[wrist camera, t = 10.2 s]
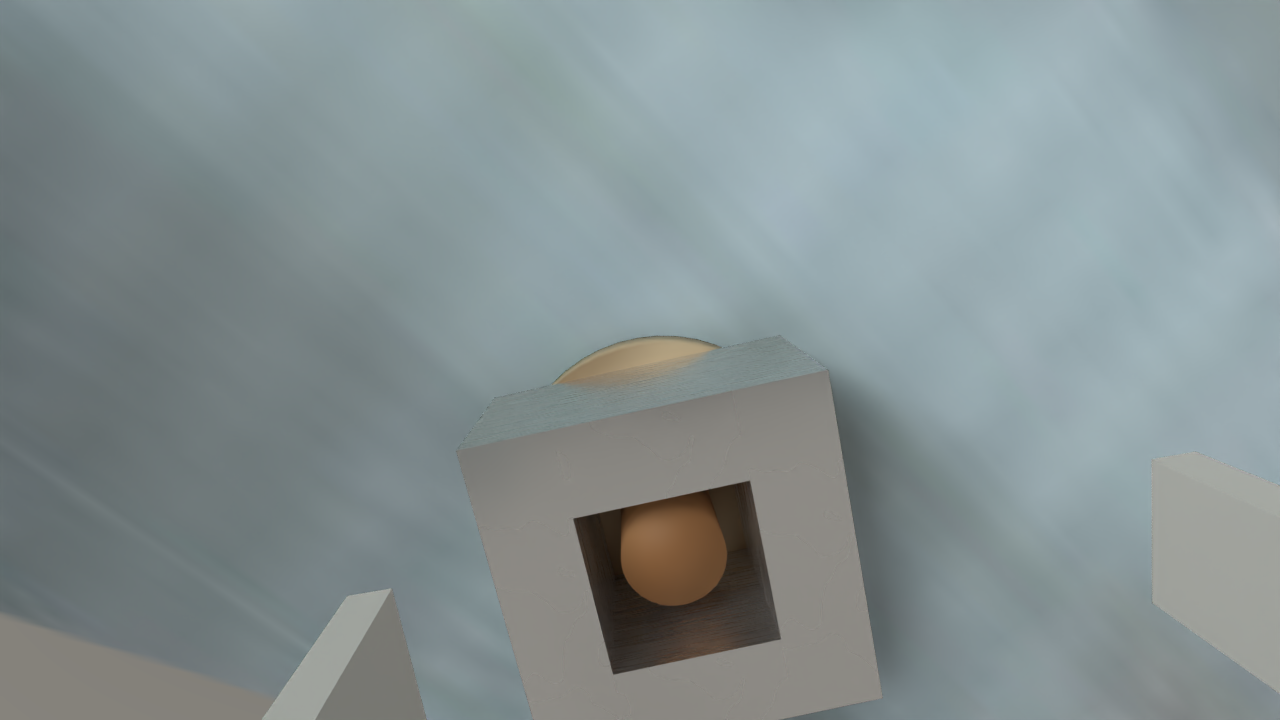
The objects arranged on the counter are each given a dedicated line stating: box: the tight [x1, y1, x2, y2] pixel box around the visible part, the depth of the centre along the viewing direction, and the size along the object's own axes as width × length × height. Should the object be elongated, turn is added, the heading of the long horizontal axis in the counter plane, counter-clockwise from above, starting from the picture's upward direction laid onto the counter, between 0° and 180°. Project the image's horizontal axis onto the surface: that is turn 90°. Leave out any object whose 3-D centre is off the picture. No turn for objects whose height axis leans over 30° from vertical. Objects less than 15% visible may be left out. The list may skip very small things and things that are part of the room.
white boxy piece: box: [456, 335, 883, 720], centre depth 20 cm, size 9×9×5 cm
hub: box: [552, 336, 746, 606], centre depth 21 cm, size 10×10×6 cm
